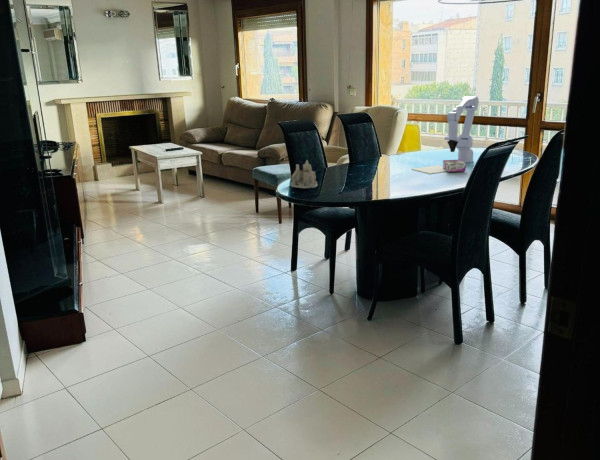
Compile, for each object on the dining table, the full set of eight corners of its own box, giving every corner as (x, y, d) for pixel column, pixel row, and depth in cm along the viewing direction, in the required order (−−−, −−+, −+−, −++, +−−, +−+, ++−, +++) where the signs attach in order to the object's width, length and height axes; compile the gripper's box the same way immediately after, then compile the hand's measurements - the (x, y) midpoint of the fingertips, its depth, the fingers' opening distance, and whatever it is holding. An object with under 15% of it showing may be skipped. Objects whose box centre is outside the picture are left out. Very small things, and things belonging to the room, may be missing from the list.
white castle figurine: (290, 183, 335) (289, 159, 330) (317, 183, 335) (316, 159, 330) (290, 190, 321) (289, 165, 315) (317, 190, 320) (317, 165, 315)
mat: (437, 166, 363) (437, 165, 363) (456, 170, 345) (456, 169, 345) (411, 169, 356) (411, 168, 356) (430, 174, 338) (430, 173, 338)
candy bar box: (442, 167, 354) (447, 172, 338) (442, 160, 352) (447, 164, 337) (460, 167, 353) (465, 171, 337) (460, 159, 352) (466, 163, 336)
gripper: (440, 130, 358) (440, 151, 362) (455, 132, 345) (454, 153, 349) (449, 129, 360) (449, 150, 364) (464, 131, 347) (463, 152, 351)
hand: (452, 151), depth 357 cm, fingers closed
